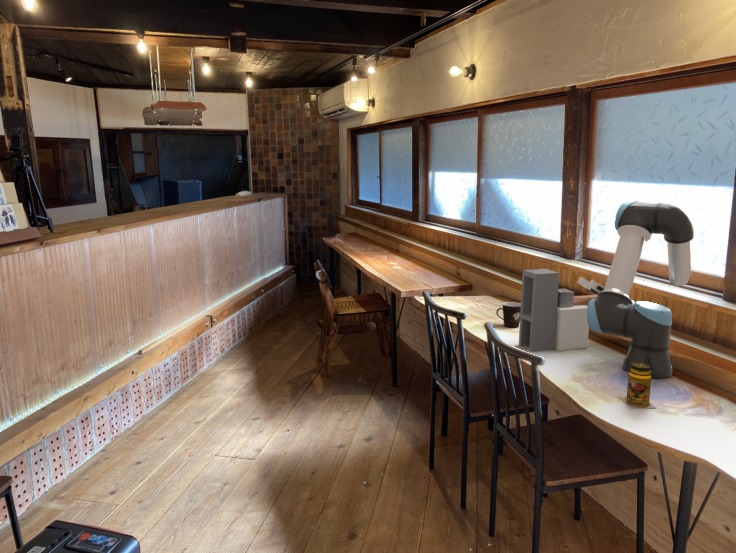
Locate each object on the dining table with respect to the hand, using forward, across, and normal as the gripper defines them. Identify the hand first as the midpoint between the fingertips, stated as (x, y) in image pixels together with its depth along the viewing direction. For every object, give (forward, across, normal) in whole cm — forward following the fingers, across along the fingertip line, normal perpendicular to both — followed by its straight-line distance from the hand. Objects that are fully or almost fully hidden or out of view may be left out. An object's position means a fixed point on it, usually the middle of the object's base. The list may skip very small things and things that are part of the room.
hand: (584, 281), depth 213 cm
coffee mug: (0, +30, -29) cm, 42 cm away
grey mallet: (-2, 0, -9) cm, 10 cm away
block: (-6, 0, -26) cm, 26 cm away
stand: (+5, 0, -32) cm, 32 cm away
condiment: (+6, -54, -32) cm, 63 cm away
